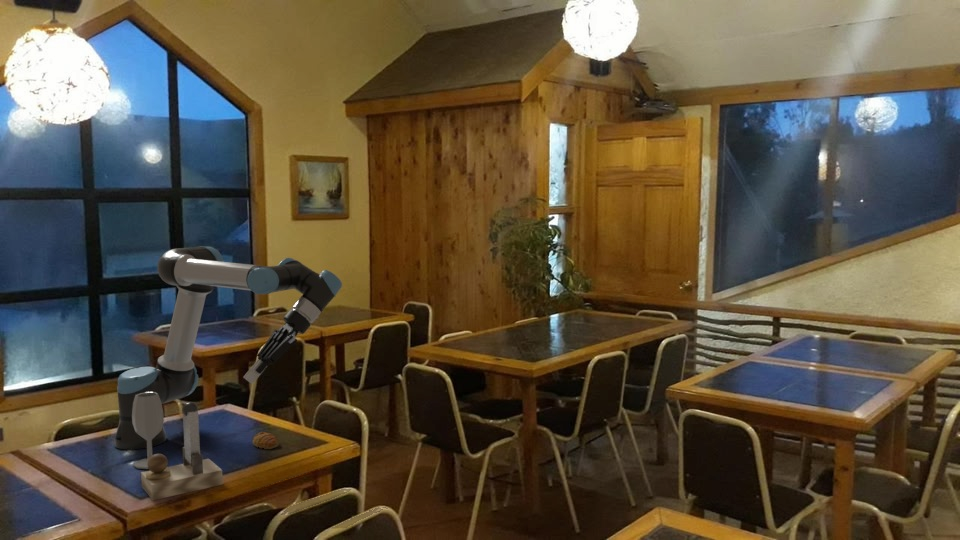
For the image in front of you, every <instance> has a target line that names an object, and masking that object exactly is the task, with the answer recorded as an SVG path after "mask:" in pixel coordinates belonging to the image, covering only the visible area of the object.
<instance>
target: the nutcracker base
mask: <svg viewBox="0 0 960 540" xmlns="http://www.w3.org/2000/svg"><path fill="white" fill-rule="evenodd" d="M168 462H169V461H168V459H167V456H166V455H164V454H162V453H154V454H152V456H151V457H150V458H149V460H148V463H147V466H148V469H147V470H146V471H141V472H140V479H141V488H142V489H143V490H144V491H145V493H146V494H147V495H148V496H149V498H150V499H151V500H152V501H156V500H161V499H165V498H170V497H173V496H178V495H183V494H188V493H190V492H195V491H200V490H205V489H208V488H209V489H210V488H213V487H217V486H222V485H223V484H224V479H223V469H222V468H221V467H220V466H219V465H217V464H216V463H215V462H214V461H212V460H211V459H210V458H205V459H203V454H202V453H200V454H198V455H193V456H192V466H191V465H190V464H189V463H188V462H187V461H186V460H185V448H184V446H183V447H182V463H179V464H176V465H175V464H174V465H170V466H168Z"/></svg>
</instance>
